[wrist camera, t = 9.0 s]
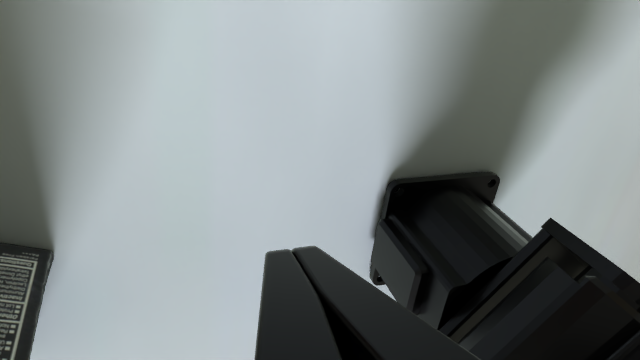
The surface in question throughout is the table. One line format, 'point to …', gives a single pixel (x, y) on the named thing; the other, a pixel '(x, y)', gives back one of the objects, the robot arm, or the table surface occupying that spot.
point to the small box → (21, 297)
